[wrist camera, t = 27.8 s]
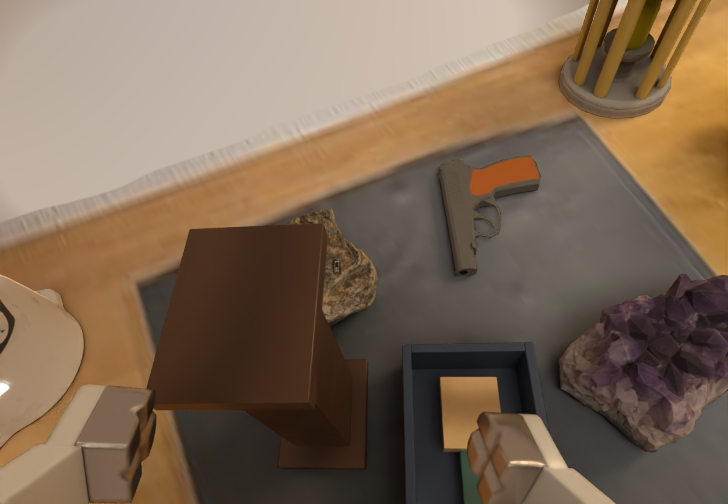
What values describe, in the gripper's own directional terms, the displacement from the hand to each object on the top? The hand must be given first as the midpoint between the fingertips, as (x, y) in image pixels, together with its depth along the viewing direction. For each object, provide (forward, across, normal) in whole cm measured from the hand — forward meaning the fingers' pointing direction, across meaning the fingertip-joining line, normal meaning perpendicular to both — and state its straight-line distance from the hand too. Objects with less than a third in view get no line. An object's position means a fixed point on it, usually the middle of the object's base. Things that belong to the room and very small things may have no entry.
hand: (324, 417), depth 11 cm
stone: (+36, -4, +19) cm, 41 cm away
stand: (+24, -5, +26) cm, 35 cm away
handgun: (+40, -23, +9) cm, 47 cm away
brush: (+16, -17, +24) cm, 34 cm away
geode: (+23, -35, +15) cm, 44 cm away
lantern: (+56, -41, -7) cm, 70 cm away
